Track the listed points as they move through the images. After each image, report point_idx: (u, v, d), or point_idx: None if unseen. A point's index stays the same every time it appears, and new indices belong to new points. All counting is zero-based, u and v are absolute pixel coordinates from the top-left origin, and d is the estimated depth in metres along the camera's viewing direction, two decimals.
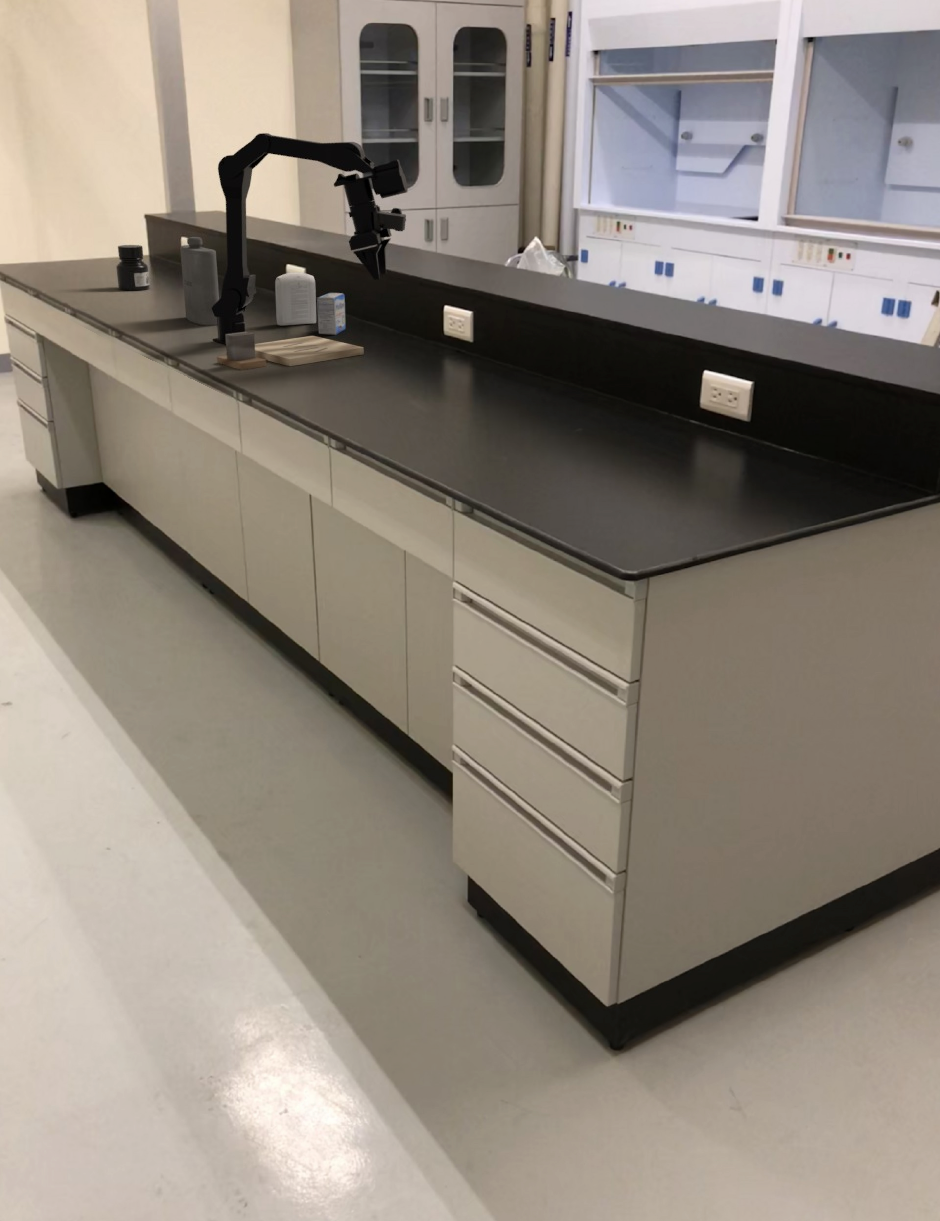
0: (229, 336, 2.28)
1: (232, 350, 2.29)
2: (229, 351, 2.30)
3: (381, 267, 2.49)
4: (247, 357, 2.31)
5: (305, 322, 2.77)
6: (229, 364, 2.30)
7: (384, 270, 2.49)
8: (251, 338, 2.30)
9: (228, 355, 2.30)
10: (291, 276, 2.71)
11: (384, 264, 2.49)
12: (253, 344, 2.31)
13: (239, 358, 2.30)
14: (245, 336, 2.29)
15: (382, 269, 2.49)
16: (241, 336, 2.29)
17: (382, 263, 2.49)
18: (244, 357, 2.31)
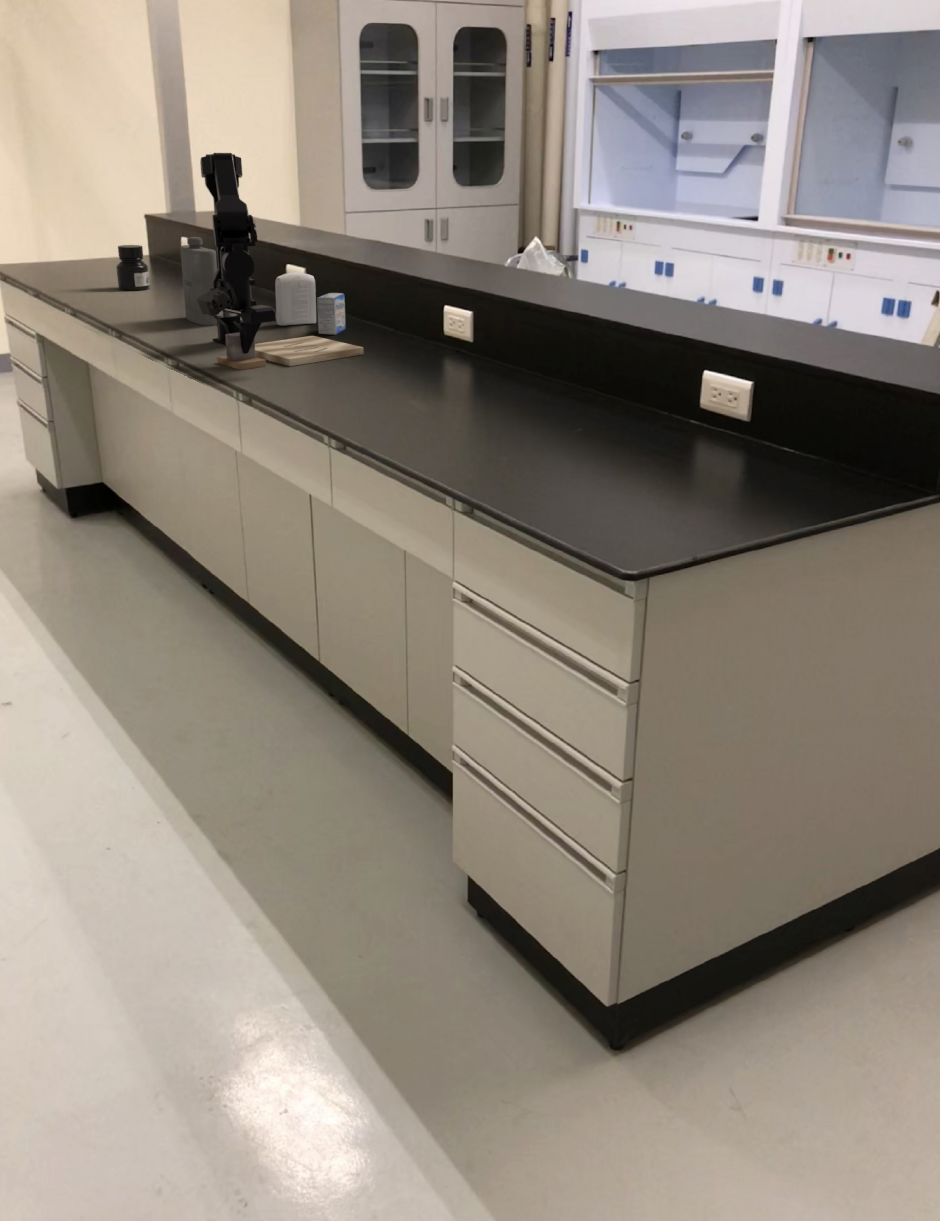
0: (229, 336, 2.28)
1: (232, 350, 2.29)
2: (229, 351, 2.30)
3: None
4: (247, 357, 2.31)
5: (305, 322, 2.77)
6: (229, 364, 2.30)
7: None
8: None
9: (228, 355, 2.30)
10: (291, 276, 2.71)
11: None
12: (253, 344, 2.31)
13: (239, 358, 2.30)
14: None
15: None
16: None
17: None
18: (244, 357, 2.31)
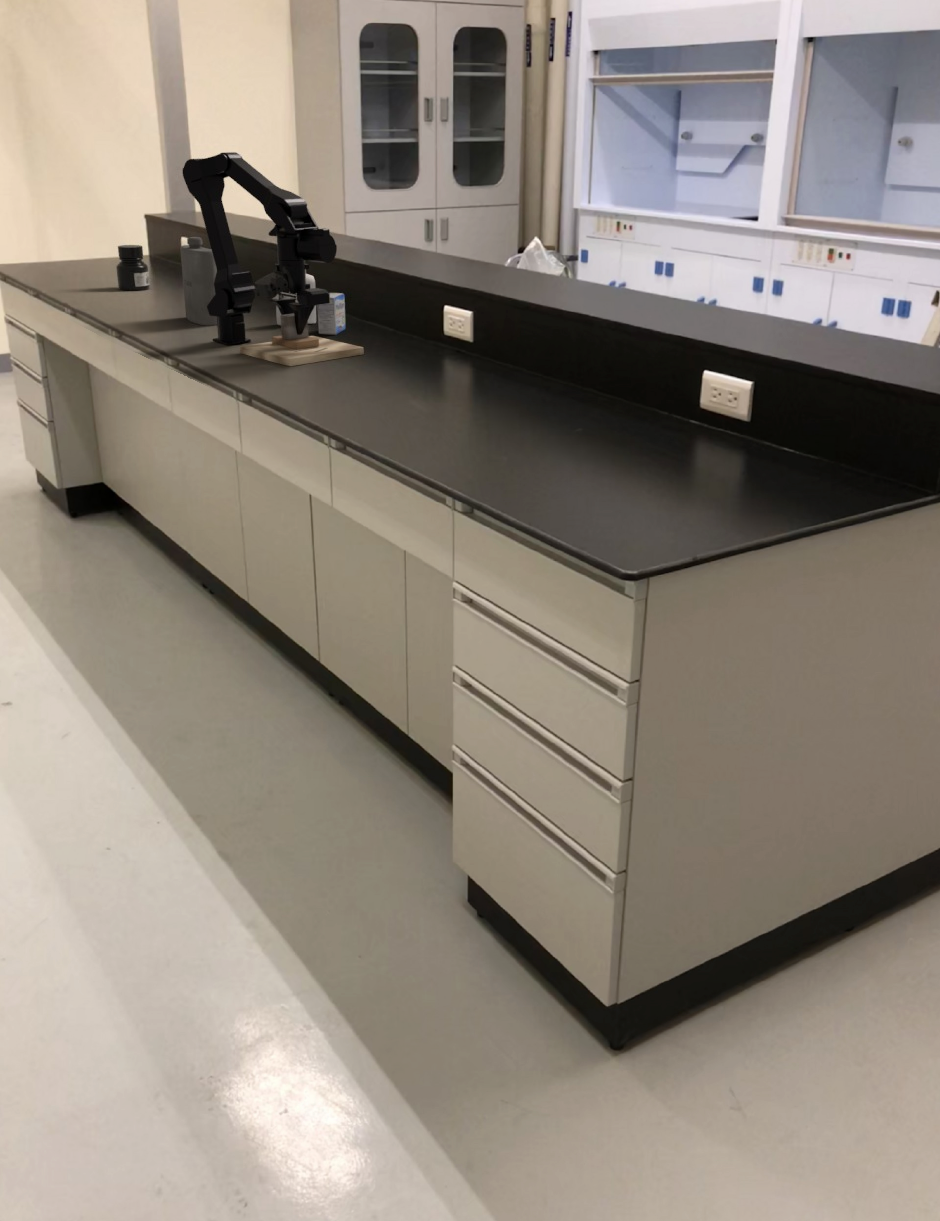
0: (284, 316, 2.41)
1: (287, 330, 2.41)
2: (284, 331, 2.42)
3: None
4: (301, 337, 2.43)
5: None
6: (284, 343, 2.42)
7: None
8: None
9: (283, 335, 2.43)
10: None
11: None
12: (306, 324, 2.43)
13: (293, 337, 2.42)
14: None
15: None
16: None
17: None
18: (298, 336, 2.43)
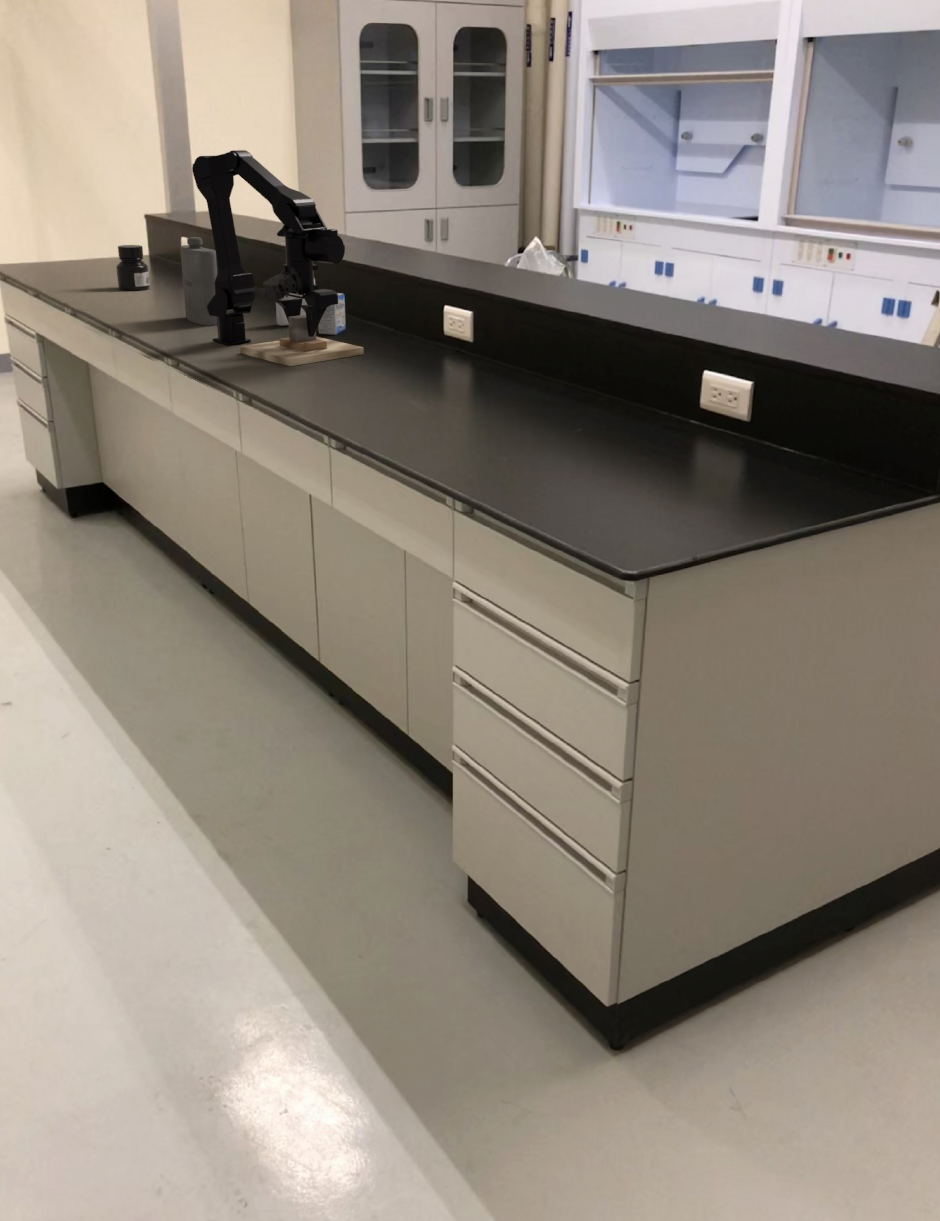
0: (292, 318, 2.39)
1: (295, 332, 2.39)
2: (292, 333, 2.40)
3: None
4: (309, 339, 2.42)
5: None
6: (292, 345, 2.41)
7: None
8: None
9: (291, 337, 2.41)
10: None
11: None
12: None
13: (301, 340, 2.40)
14: None
15: None
16: (303, 318, 2.39)
17: None
18: (306, 339, 2.41)
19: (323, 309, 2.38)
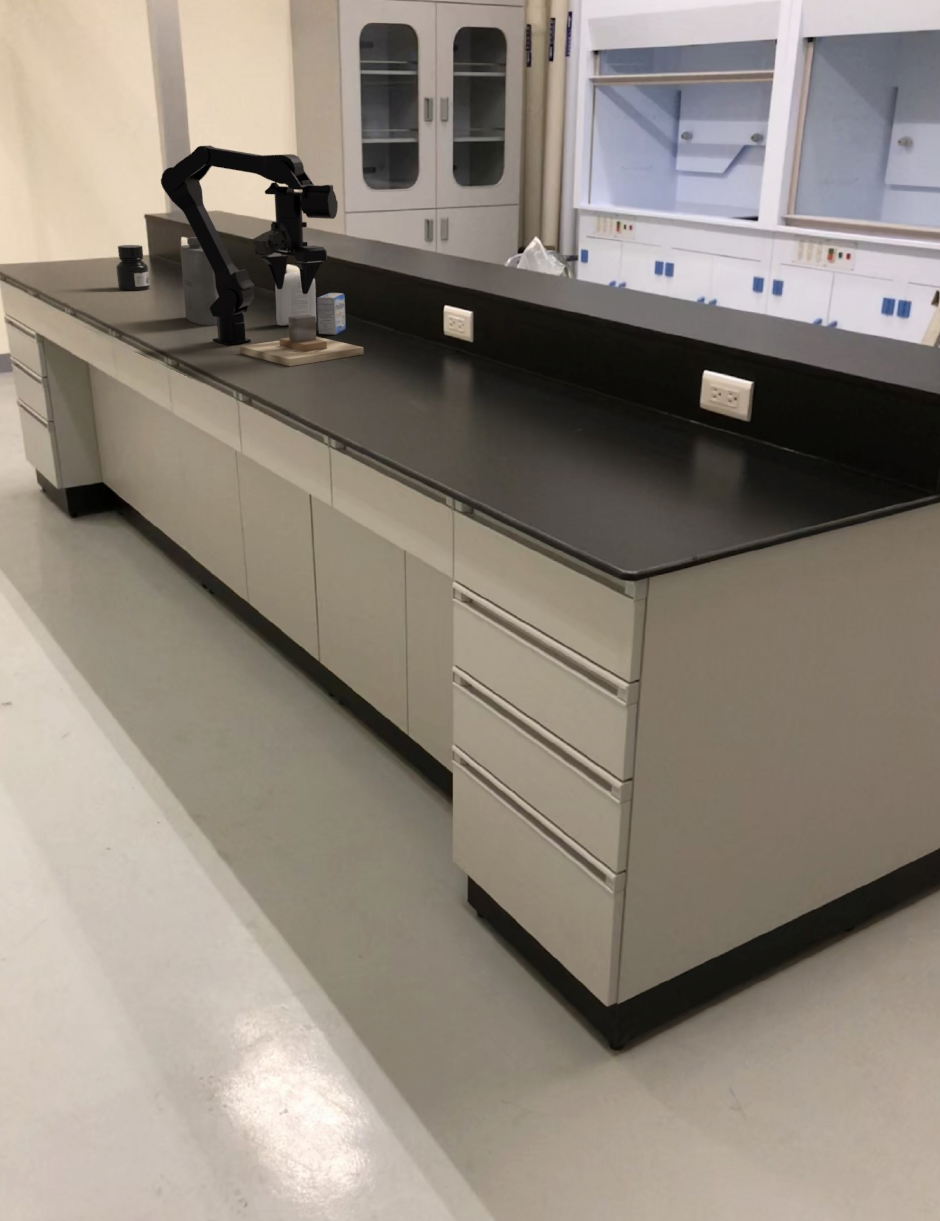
0: (292, 318, 2.39)
1: (295, 332, 2.39)
2: (292, 333, 2.40)
3: None
4: (309, 339, 2.42)
5: None
6: (292, 345, 2.41)
7: None
8: (312, 321, 2.41)
9: (291, 337, 2.41)
10: (291, 276, 2.71)
11: None
12: (314, 326, 2.42)
13: (301, 340, 2.40)
14: (307, 318, 2.40)
15: None
16: (303, 318, 2.39)
17: None
18: (306, 339, 2.41)
19: (317, 266, 2.41)
